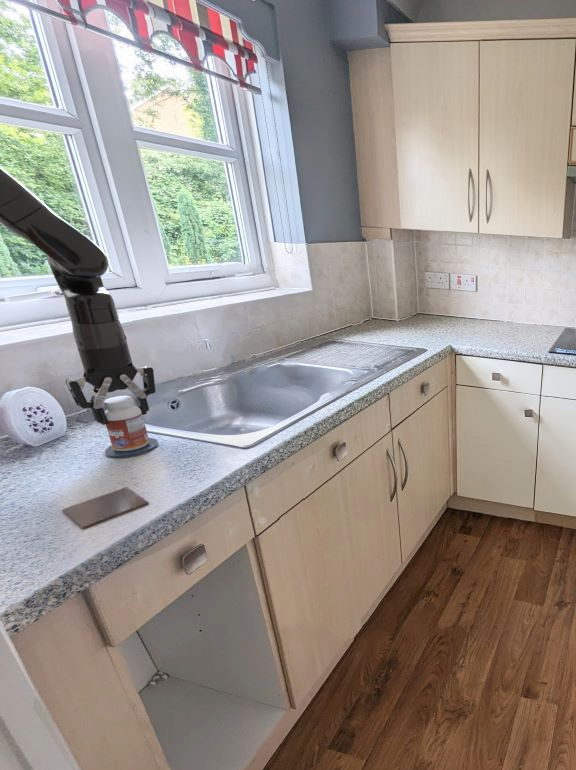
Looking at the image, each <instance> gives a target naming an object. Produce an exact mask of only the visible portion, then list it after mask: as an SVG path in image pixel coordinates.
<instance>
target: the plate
mask: <svg viewBox="0 0 576 770" xmlns="http://www.w3.org/2000/svg"><path fill="white" fill-rule="evenodd" d="M148 438H149V443H148V444H147V445H146V446H144V447H142V448H140V449H136V450H132V451H116V450H114V449H113V447H112V444H111V445H109V446H108V447H107V448H106V449H105V450H104V454H105V456H106V457H108V458H112V459H113V458H114V459H124V458H130V457H131V458H132V457H136V456H140V455H143V454H146V453H148V452H151V451H154V449H156V448H157V447H158V446H159V440H158V439H157V438H154V437H148Z"/></svg>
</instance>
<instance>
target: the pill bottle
mask: <svg viewBox="0 0 576 770" xmlns="http://www.w3.org/2000/svg"><path fill="white" fill-rule="evenodd" d="M134 399H135V398H134V397H133V396H131V395H117V396H113V397H109V398H107V399H106V398H105V400H103V403H104V407H105V408H106V409H107V410H104V412H105V416H106V419H107V422H108V424H105V426H106V431H107V433H108V437H109V440H110V444H111V445H112V447H113V449H114V450H116V451H132V450H136V449H140V448H142V447H144V446H146V445H147V444H148V443H149V438H150V437H149V434H148V431H147V427H146V422H145V419H144V415H142V412H141V409H140V408H139V407H137V405H135V400H134Z"/></svg>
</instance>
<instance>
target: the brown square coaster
mask: <svg viewBox="0 0 576 770" xmlns="http://www.w3.org/2000/svg"><path fill="white" fill-rule="evenodd" d="M149 504H150V503H149V501H147V500H146V499H145V498H143V497H142V496H140V495H139V494H138V493H136V492H135V491H133V490H132V489H130V488H129V487H127V486H125V487H122V488H120V489H116V490H114V491H111V492H108V493H105V494H102V495H99V496H96V497H94V498H91V499H88V500H84V501H82V502H79V503H77V504H73V505H70V506H68V507H65V508H62V509H61V512H63V513H64V514H65V515H66V516H67V517H68V518H70V519H71V520H72V521H73V522H74V523H75V524H76V525H77V526H78V527H80V529H82V530H85V529H88V528H91V527H92V526H95V525H98V524H100V523H103V522H106V521H108V520H111V519H114V518H116V517H118V516H121V515H125V514H127V513H129V512H132V511H134V510H137V509H140V508H143V507H146V506H147V505H149Z"/></svg>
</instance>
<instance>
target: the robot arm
mask: <svg viewBox="0 0 576 770" xmlns="http://www.w3.org/2000/svg"><path fill="white" fill-rule="evenodd" d="M0 224H1V225H2V226H4V227H5V228H6V229H7V230H9V231H10V232H11V233H13V234H15V235H16V236H18V237H19V238H22V239H24V240H26V241H28V242H29V243H31V244H32V245H34V246H35V247H36V248H37V249H38V250H40V251H41V252H42V253H43V254H45V255H46V258H47V262H48V265H49V268H50V271H51V272H52V275H53V277H54V279H55V281H56V283H57V286H58V287H59V289H60V291H61V293H62V295H63V298H64V300H65V301H64V302H65V305H66V309H67V312H68V317H69V319H70V322H71V326H72V334H73V339H74V340H75V345H76V348H77V351H78V354H79V357H80V362H81V364H82V368H83V375H82V376H81V377H76V378H73V379H72V378H67V379H65V381H64V382H65V385H66V387H67V389H68V391H69V393H70V395H71V397H72V398H73V401H74V403H75V404H76V406H78V407H80V408H81V409H90V410H91V412H92V416H93V418H94V419H93V420H94V421H95V422H96V423H98V424H100V425H102V426H106V424H108V422H107V419H106V416H105V409H104V407H102V405H103V403H104V399H106V396H107V394H109V393H113V392H117V391H123V390H129V391H130V392H131V393H132V394H133V395H134V396H135V397H134V399H135V400H134V401H135V403H136V406H137V407H139V408H140V409H141V412H142V415H143V416H145V415H147V414H148V412H149V411H150V406H149V402H148V399H147V398H148V396H149V395H153V394H155V393H156V383H155V382H156V381H155V375H154V374H155V373H154V368H153V367H151V366H148V365H145V364H143V365H142V366H139V367H136V366H135V365H134V364H133V361H132V358H131V353H130V349H129V346H128V341H127V340H128V339H127V336H126V334H125V331H124V327H123V326H122V324H121V321H120V318H119V314H118V311H117V307H116V303H115V300H114V298H113V296H112V294H111V293H110V292H109V291H108V290H107V289H106V288H105V285H104V282H103V280H102V277H101V276H103V275H105V273H107V271H108V268H109V260H108V257H107V255H106V253H105V252H104V251H103V250H102V248H100V246H99V245H97V244H96V243H95V242H94V241H93V240H92V239H90V238H89V237H88V236H86V234H83V232H81V231H80V230H78V229H76V228H75V227H74V226H73V225H71V224H70V223H69V222H68V221H66V220H64V219H63V218H61V217H60V216H58V214H56V213H55V212H54V211H53V210H52V209H51V208H50V207H49V206H47V204H45V203H44V202H43V201H42V200H41V199H40V198H38V197H37V196H36V195H35V194H34V193H32V192H31V191H30V190H29V189H28V188H27V187H25V185H24V184H22V183H21V182H20V181H18V180H17V179H16V178H15V177H13V176H12V175H11V174H10V173H8V172H7V171H6V170H5V169H4V168H2V167H0ZM137 374H138V375H139V376H140V377H141V378H142V387H143V388H142V389H141V388H140V387H139V386H138V385H137V384H136V383H135V382H134V379H135V377H136V376H137ZM85 383H87V384H89V385H91V386H93V387H92V389H91V392H90V398H89V400H87V398H86V396H85V394H84V392H83V389H84V388H85Z"/></svg>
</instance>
